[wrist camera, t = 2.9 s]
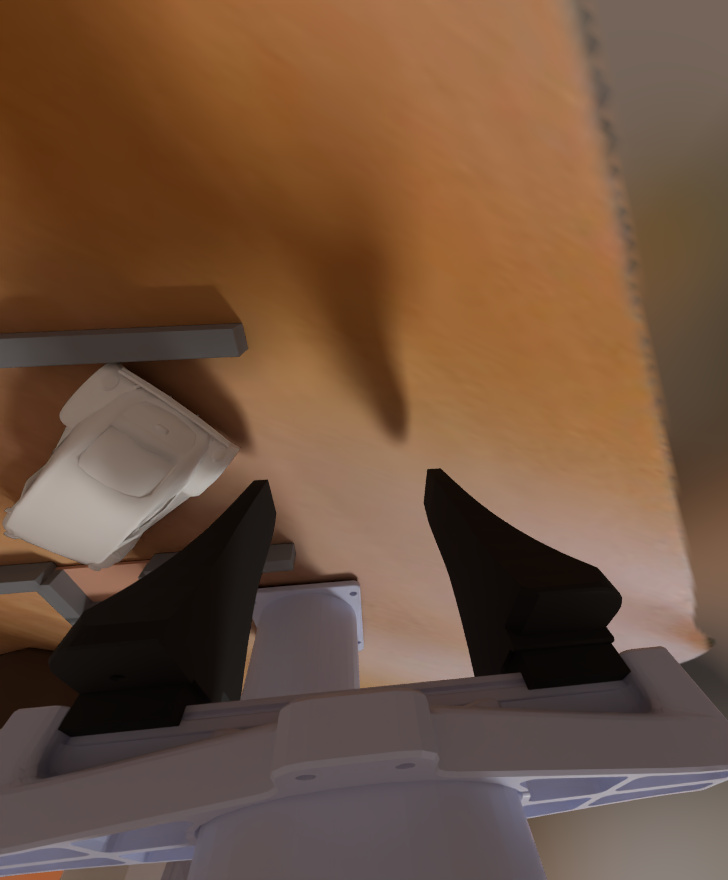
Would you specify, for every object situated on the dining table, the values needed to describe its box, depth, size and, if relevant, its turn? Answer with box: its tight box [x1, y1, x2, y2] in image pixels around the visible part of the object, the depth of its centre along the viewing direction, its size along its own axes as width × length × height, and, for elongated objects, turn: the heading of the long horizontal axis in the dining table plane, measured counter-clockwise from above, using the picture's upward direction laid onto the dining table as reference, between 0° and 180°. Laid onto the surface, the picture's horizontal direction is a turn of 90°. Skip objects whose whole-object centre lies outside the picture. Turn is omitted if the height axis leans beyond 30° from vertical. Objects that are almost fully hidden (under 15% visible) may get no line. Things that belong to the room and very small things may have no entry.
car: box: [2, 362, 240, 571], centre depth 13 cm, size 12×6×5 cm, turn 132°
